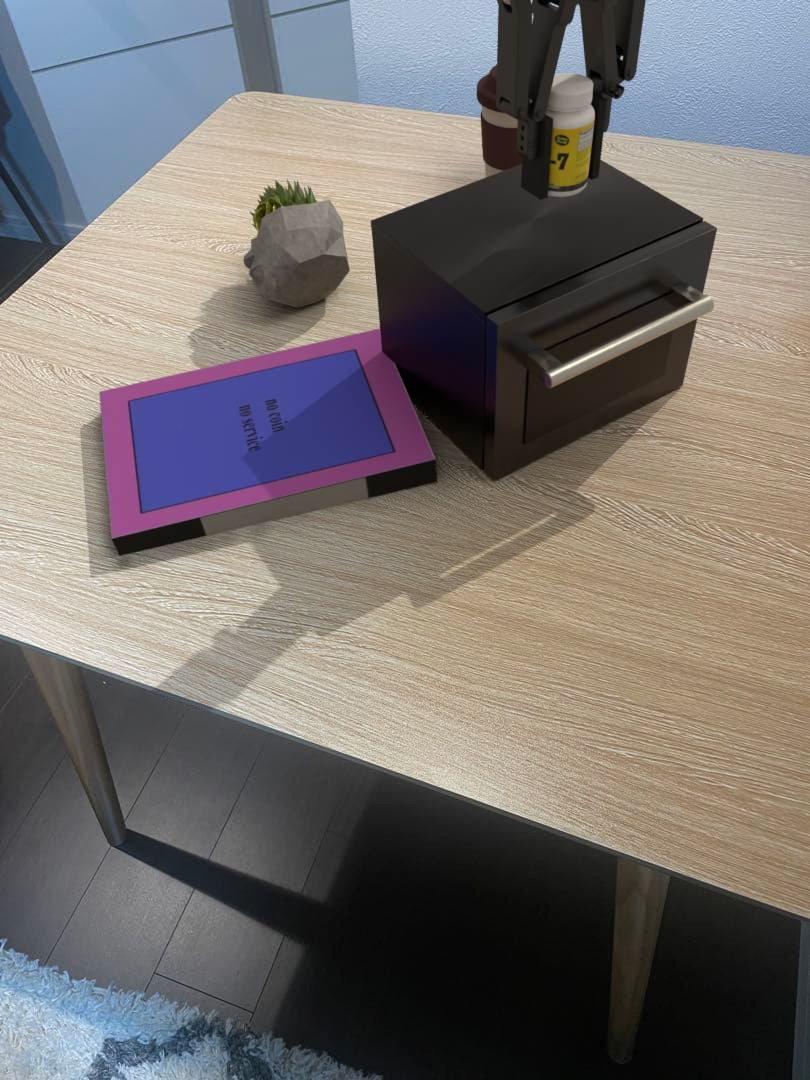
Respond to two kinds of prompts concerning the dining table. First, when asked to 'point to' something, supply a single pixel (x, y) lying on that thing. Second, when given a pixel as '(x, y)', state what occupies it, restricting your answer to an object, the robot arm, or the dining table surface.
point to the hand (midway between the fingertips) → (559, 181)
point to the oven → (493, 275)
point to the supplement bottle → (570, 133)
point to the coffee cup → (496, 129)
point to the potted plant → (296, 247)
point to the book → (258, 441)
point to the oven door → (592, 348)
